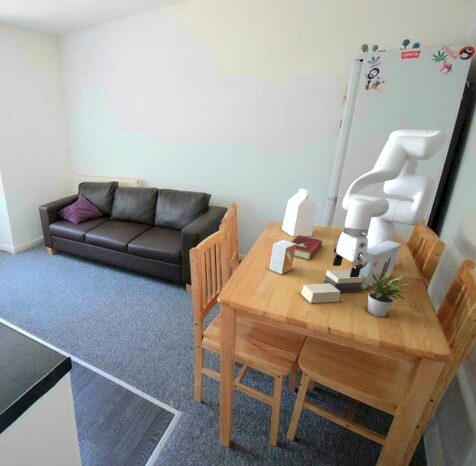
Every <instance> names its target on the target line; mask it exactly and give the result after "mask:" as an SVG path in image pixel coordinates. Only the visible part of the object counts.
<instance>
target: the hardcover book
mask: <svg viewBox="0 0 476 466" xmlns="http://www.w3.org/2000/svg"><path fill="white" fill-rule="evenodd" d="M290 242H292V243H295V244H296V248H295V253H294V257H295V258H298V259H303V260H306V261H309V260H310V259H311V258H312V257H313V256H314V255H315V254H316V253H317V252H318V251H319V250H320V248H321V247H322V246H323V239H320V238H314V237H310V236H301V235H298V236H294V238H293V239H292V240H290Z"/></svg>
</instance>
